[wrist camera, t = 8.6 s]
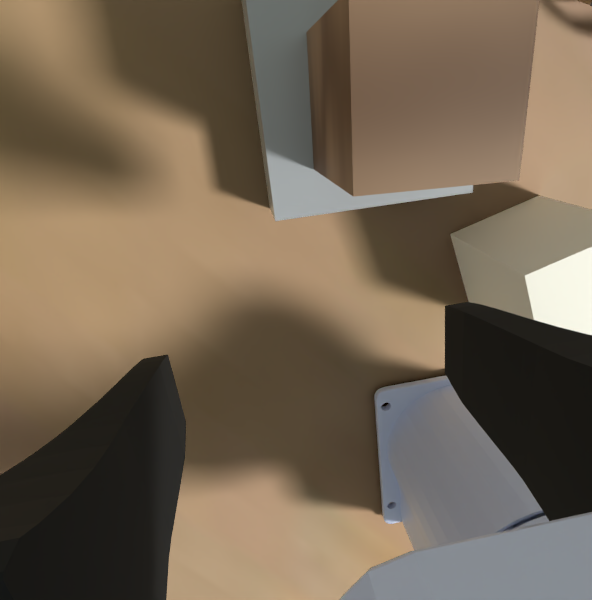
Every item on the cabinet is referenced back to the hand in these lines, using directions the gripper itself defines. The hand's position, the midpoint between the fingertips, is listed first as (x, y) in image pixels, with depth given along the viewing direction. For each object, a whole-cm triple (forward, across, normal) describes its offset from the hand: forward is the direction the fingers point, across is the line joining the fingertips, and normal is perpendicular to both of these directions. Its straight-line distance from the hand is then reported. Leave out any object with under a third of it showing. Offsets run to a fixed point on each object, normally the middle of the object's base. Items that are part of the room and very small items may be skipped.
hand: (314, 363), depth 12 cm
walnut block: (+7, -4, -6) cm, 10 cm away
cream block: (+10, -11, +2) cm, 15 cm away
